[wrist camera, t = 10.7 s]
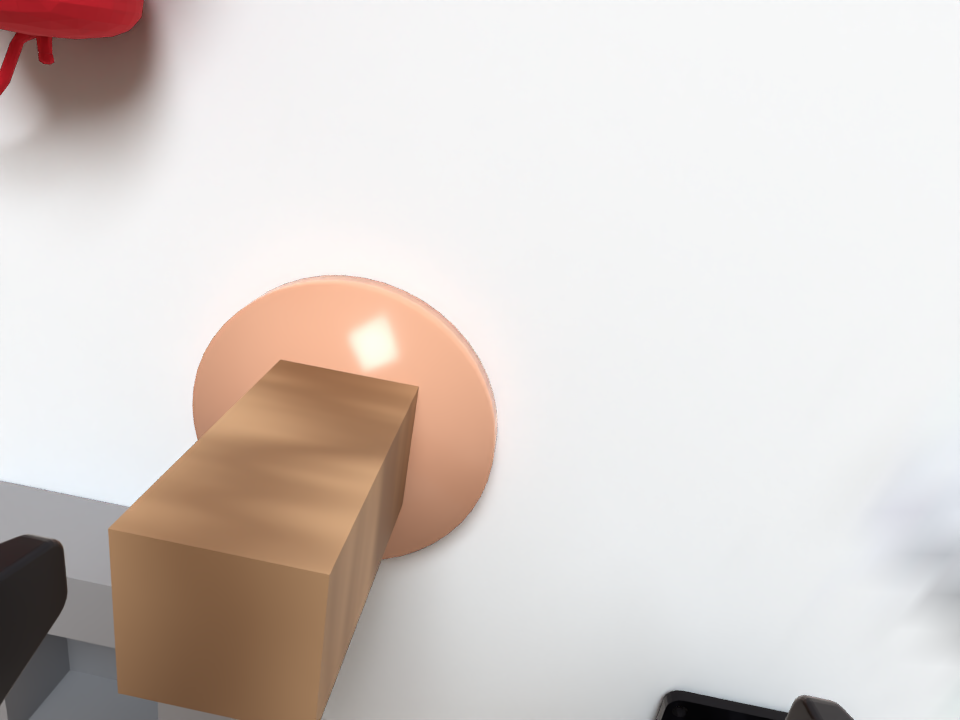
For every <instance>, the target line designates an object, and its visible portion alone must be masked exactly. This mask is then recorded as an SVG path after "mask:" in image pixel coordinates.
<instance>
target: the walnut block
mask: <svg viewBox="0 0 960 720" xmlns="http://www.w3.org/2000/svg"><path fill="white" fill-rule="evenodd" d="M418 390H419V386H414V385H409V384H403V383H398V382H393V381H388V380H383V379H378V378H373V377H368V376H363V375H357V374H352V373H347V372H342V371H337V370H332V369H327V368H322V367H317V366H311V365H306V364H301V363H296V362H291V361H286V360H281V359H280V360H279V361H278V362H277V363H276V364H275V365H274V366H273V367H272V368H271V369H270V370H269V371H268V372H267V373H266V374H265V375H264V376H263V377H262V378H261V379H260V380H259V381H258V382H257V383H256V384H255V385H254V386H253V387H252V388H251V389H250V390H249V391H248V392H247V393H246V394H245V395H244V396H243V397H242V398H241V399H240V400H239V401H238V402H237V403H236V404H235V405H233V406H232V407H231V408H230V409H229V410H228V411H227V412H226V413H225V414H224V415H223V416H222V417H221V418H220V419H219V420H218V421H217V422H216V423H215V424H214V425H213V426H212V427H211V428H210V429H209V430H208V431H207V432H206V433H205V434H204V435H203V436H202V437H201V438H200V439H199V440H198V441H197V442H196V443H195V444H194V445H193V446H192V447H191V448H190V449H189V450H188V451H187V452H186V453H185V454H184V455H183V456H182V457H181V458H179V459H178V460H177V461H176V462H175V463H174V464H173V465H172V466H171V467H170V468H169V469H168V470H167V471H166V472H165V473H164V474H163V475H162V476H161V477H160V478H159V479H158V480H157V481H156V482H155V483H154V484H153V485H152V486H151V487H150V488H149V489H148V490H147V491H146V492H145V493H144V494H143V495H142V496H141V497H140V498H139V499H138V500H137V501H136V502H135V503H134V504H133V505H132V506H131V507H130V508H129V509H128V510H126V511H125V512H124V513H123V514H122V515H121V516H120V517H119V518H118V519H117V520H116V521H115V522H114V523H113V524H112V525H111V526H110V527H109V528H108V536H109V553H110V569H111V586H112V602H113V619H114V635H115V652H116V668H117V685H118V693H119V694H124V695H128V696H133V697H137V698H142V699H146V700H151V701H156V702H160V703H165V704H169V705H174V706H178V707H183V708H187V709H192V710H197V711H201V712H206V713H210V714H215V715H219V716H224V717H229V718H233V719H238V720H321V717H322V715H323V712H324V709H325V707H326V704H327V702H328V699H329V696H330V694H331V691H332V688H333V686H334V683H335V681H336V678H337V675H338V673H339V670H340V667H341V665H342V662H343V660H344V657H345V654H346V652H347V649H348V646H349V644H350V641H351V639H352V636H353V633H354V631H355V628H356V625H357V623H358V620H359V618H360V615H361V612H362V610H363V607H364V604H365V602H366V599H367V597H368V594H369V591H370V589H371V586H372V584H373V581H374V578H375V576H376V573H377V570H378V568H379V565H380V563H381V560H382V557H383V555H384V552H385V549H386V547H387V544H388V542H389V539H390V536H391V534H392V531H393V528H394V526H395V523H396V521H397V518H398V515H399V513H400V510H401V507H402V505H403V497H404V490H405V483H406V476H407V469H408V462H409V454H410V447H411V440H412V433H413V426H414V419H415V411H416V404H417V397H418Z"/></svg>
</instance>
